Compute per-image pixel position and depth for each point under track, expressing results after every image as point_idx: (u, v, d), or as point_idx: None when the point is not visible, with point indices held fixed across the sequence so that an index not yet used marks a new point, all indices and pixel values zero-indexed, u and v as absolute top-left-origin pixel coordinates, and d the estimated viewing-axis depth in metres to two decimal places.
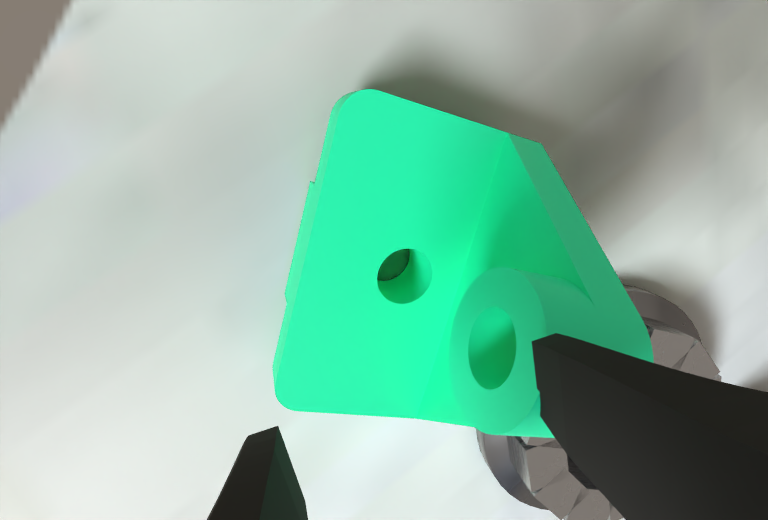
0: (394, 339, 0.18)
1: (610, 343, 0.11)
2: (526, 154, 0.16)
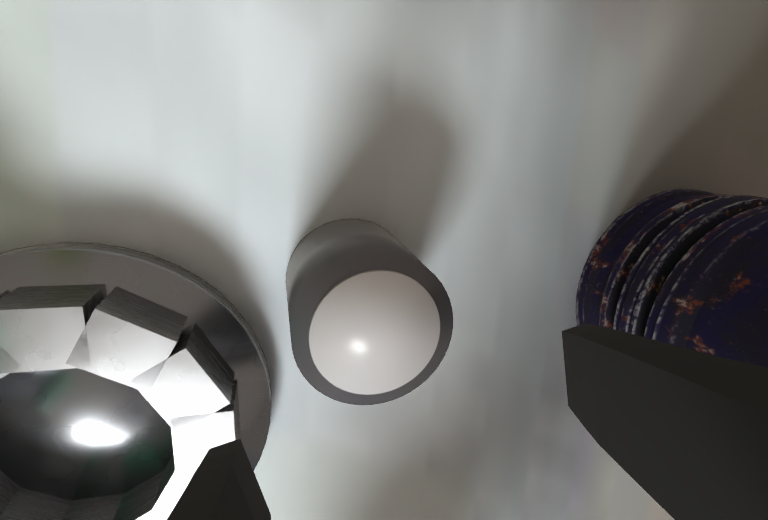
0: None
1: None
2: None
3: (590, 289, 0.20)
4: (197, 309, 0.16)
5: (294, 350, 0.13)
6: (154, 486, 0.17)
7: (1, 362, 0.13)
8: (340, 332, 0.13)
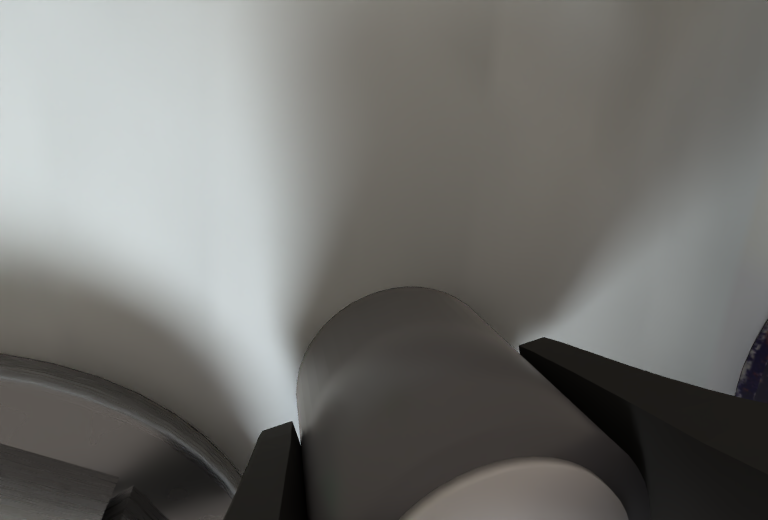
0: None
1: None
2: None
3: None
4: (136, 464, 0.09)
5: None
6: None
7: None
8: None
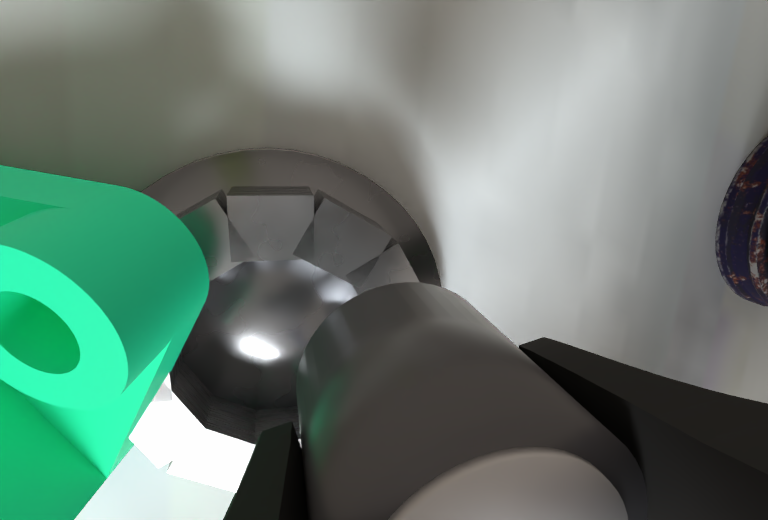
0: None
1: (110, 220, 0.10)
2: None
3: (737, 210, 0.21)
4: (387, 216, 0.16)
5: None
6: None
7: (236, 250, 0.14)
8: None
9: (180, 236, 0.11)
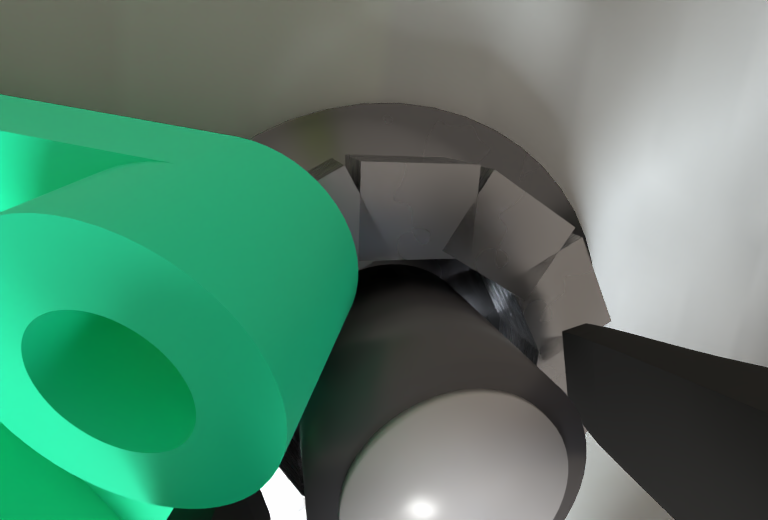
0: None
1: (243, 185, 0.06)
2: None
3: None
4: (541, 201, 0.12)
5: None
6: None
7: (367, 244, 0.09)
8: (397, 503, 0.07)
9: (332, 219, 0.07)
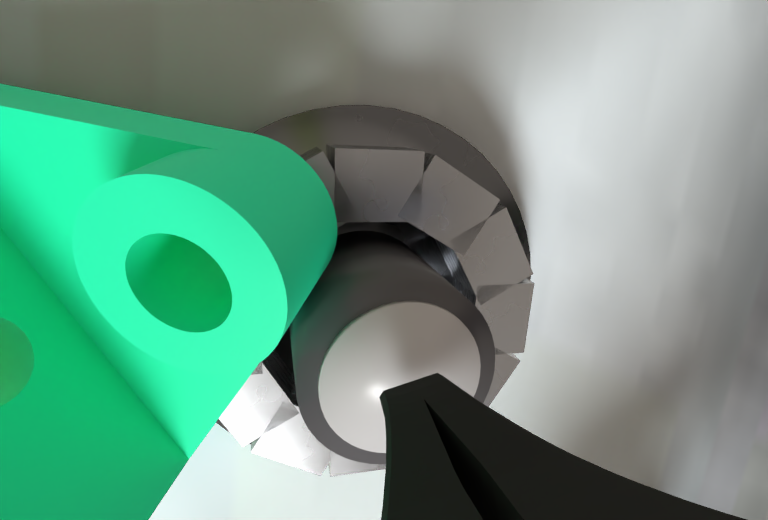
0: (66, 432, 0.11)
1: (262, 164, 0.09)
2: None
3: None
4: (482, 182, 0.15)
5: (300, 402, 0.10)
6: None
7: (340, 209, 0.12)
8: (358, 380, 0.10)
9: (319, 191, 0.10)
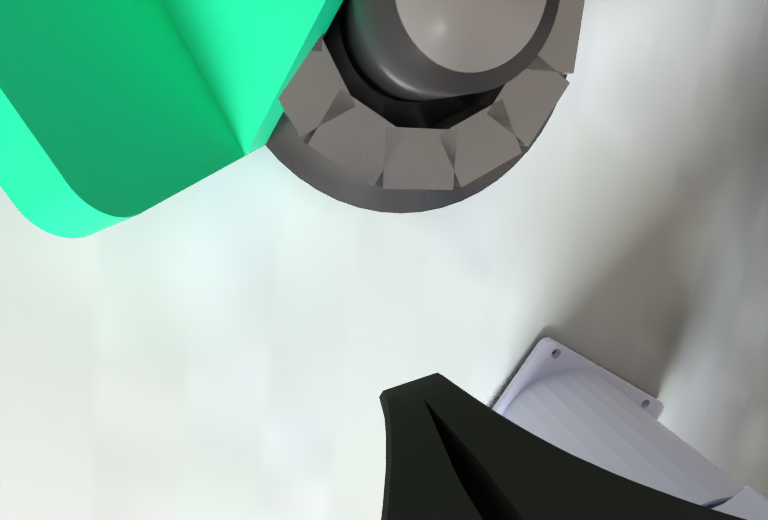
0: (140, 48, 0.11)
1: None
2: None
3: None
4: None
5: None
6: (471, 108, 0.16)
7: None
8: None
9: None
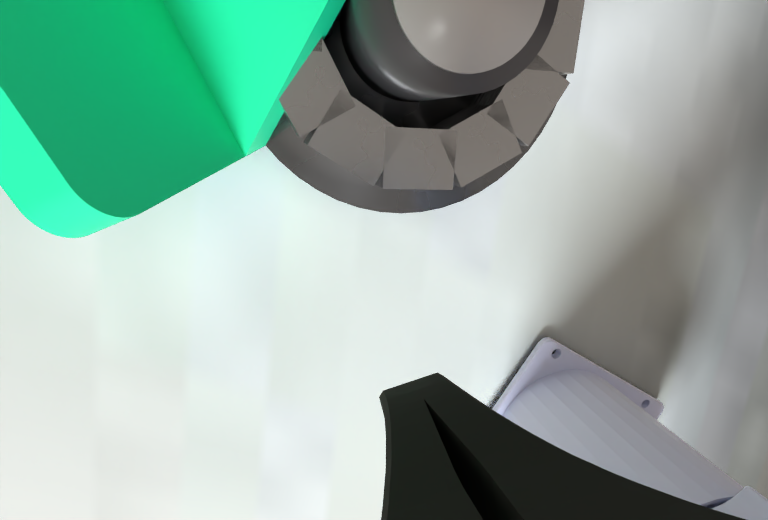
0: (141, 48, 0.11)
1: None
2: None
3: None
4: None
5: None
6: (471, 108, 0.16)
7: None
8: None
9: None
